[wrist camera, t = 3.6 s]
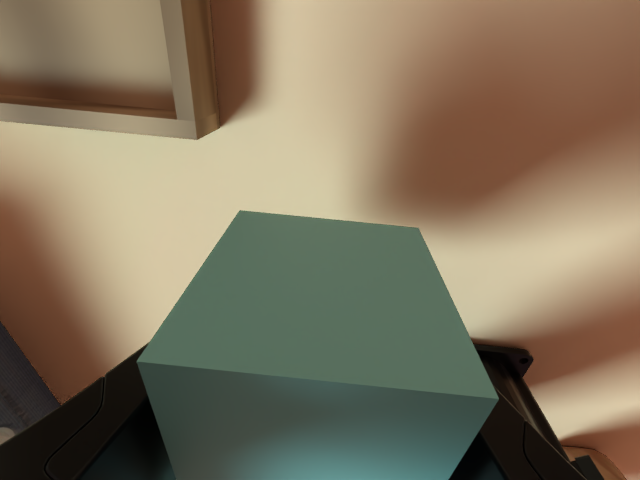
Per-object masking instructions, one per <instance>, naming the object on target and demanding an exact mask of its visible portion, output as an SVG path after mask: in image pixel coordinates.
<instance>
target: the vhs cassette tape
mask: <svg viewBox="0 0 640 480" xmlns="http://www.w3.org/2000/svg"><path fill="white" fill-rule="evenodd" d="M59 406H61V405H60V404H59V402H58V401H57V400H56V398H55V397H54V396H53V394H52V393H51V391H50V390H49V388H48V387H47V386H46V384H45V383H44V381H43V380H42V379H41V377H40V376H39V375H38V373H37V372H36V370H35V369H34V368H33V366H32V365H31V363H30V362H29V360H28V359H27V358H26V357H25V355H24V354H23V352H22V351H21V350H20V348H19V347H18V345H17V344H16V343H15V341H14V340H13V338H12V337H11V336H10V334H9V333H8V331H7V330H6V329H5V327H4V326H3V324H2V323H1V322H0V444H2V443H3V442H5V441H7V440H8V439H10V438H11V437H13V436H14V435H16V434H18V433H19V432H21V431H22V430H24V429H26V428H27V427H29V426H30V425H32V424H33V423H35V422H36V421H38V420H40V419H41V418H43V417H44V416H46V415H47V414H49V413H50V412H52V411H53V410H55V409H56V408H58V407H59Z"/></svg>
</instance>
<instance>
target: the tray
mask: <svg viewBox="0 0 640 480" xmlns="http://www.w3.org/2000/svg"><path fill="white" fill-rule="evenodd" d="M0 121H6V122H16V123H26V124H37V125H47V126H58V127H68V128H79V129H89V130H100V131H110V132H120V133H131V134H141V135H152V136H162V137H173V138H183V139H194V140H198V139H200V138H202V137H204V136H205V135H207V134H209V133H211V132H213V131H215V130H217V129H219V128H220V121H219V108H218V96H217V84H216V71H215V59H214V47H213V34H212V22H211V10H210V0H0Z"/></svg>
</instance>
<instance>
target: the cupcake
mask: <svg viewBox="0 0 640 480" xmlns="http://www.w3.org/2000/svg"><path fill="white" fill-rule="evenodd" d="M563 449H564V450H565V452H566V454H567V456H568V457H569V459H570V461H575V457H579V456H583V455H587V454H589V456H590V457H591V459H592V461H593V462H594V464H595V465H596V467H597V469H598V470H599V472H600V473H601V475H602V476H603V478H604V480H627V479H626V478H625V477H624V476H623V474H622V473H621V472H620V471H619V470H618V468H617V467H616V466H615V465H614V464H613V463H612V462H611V461H610V460H609V459H608V458H607V457H606V456H605V455H604V454H602V453H600V452H598V451H596V450H593V449H585V448H578V447H563Z"/></svg>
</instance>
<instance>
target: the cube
mask: <svg viewBox="0 0 640 480" xmlns="http://www.w3.org/2000/svg"><path fill="white" fill-rule="evenodd" d="M137 364H138V367H139V370H140V373H141V376H142V379H143V382H144V385H145V388H146V391H147V394H148V397H149V400H150V403H151V406H152V409H153V412H154V415H155V418H156V421H157V424H158V427H159V430H160V433H161V436H162V439H163V441H164V444H165V447H166V450H167V453H168V456H169V459H170V462H171V465H172V468H173V471H174V474H175V477H176V480H448V479H449V478H450V476H451V475H452V473H453V471H454V470H455V468H456V467H457V465H458V464H459V462H460V460H461V459H462V457H463V456H464V454H465V452H466V451H467V449H468V448H469V446H470V444H471V443H472V441H473V440H474V438H475V437H476V435H477V433H478V432H479V430H480V429H481V427H482V425H483V424H484V422H485V421H486V419H487V417H488V416H489V414H490V413H491V411H492V409H493V408H494V406H495V405H496V403H497V402H498V400H499V398H498V396H497V393H496V391H495V389H494V387H493V385H492V383H491V381H490V379H489V376H488V374H487V372H486V370H485V368H484V366H483V364H482V362H481V360H480V357H479V355H478V353H477V351H476V349H475V347H474V345H473V343H472V340H471V338H470V336H469V334H468V332H467V330H466V328H465V326H464V324H463V321H462V319H461V317H460V315H459V313H458V311H457V309H456V307H455V305H454V302H453V300H452V298H451V296H450V294H449V292H448V290H447V288H446V285H445V283H444V281H443V279H442V277H441V275H440V273H439V271H438V269H437V266H436V264H435V262H434V260H433V258H432V256H431V254H430V252H429V249H428V247H427V245H426V243H425V241H424V239H423V237H422V235H421V233H420V230H419V228H414V227H403V226H393V225H383V224H373V223H363V222H353V221H342V220H332V219H322V218H312V217H302V216H291V215H281V214H271V213H261V212H251V211H241V210H240V211H239V212H238V214H237V215H236V217H235V218H234V220H233V221H232V222H231V224H230V225H229V227H228V228H227V230H226V231H225V233H224V234H223V236H222V237H221V239H220V240H219V242H218V243H217V244H216V246H215V247H214V249H213V250H212V252H211V253H210V255H209V256H208V258H207V259H206V261H205V262H204V263H203V265H202V266H201V268H200V269H199V271H198V272H197V274H196V275H195V277H194V278H193V280H192V281H191V282H190V284H189V285H188V287H187V288H186V290H185V291H184V293H183V294H182V296H181V297H180V299H179V300H178V301H177V303H176V304H175V306H174V307H173V309H172V310H171V312H170V313H169V315H168V316H167V318H166V319H165V321H164V322H163V323H162V325H161V326H160V328H159V329H158V331H157V332H156V334H155V335H154V337H153V338H152V340H151V341H150V342H149V344H148V345H147V347H146V348H145V350H144V351H143V353H142V354H141V356H140V357H139V359H138V360H137Z"/></svg>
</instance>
